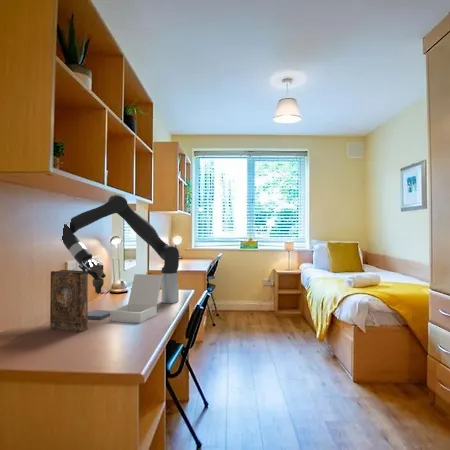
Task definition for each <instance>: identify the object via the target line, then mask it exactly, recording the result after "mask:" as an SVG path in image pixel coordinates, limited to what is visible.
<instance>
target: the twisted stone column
mask: <svg viewBox="0 0 450 450" xmlns="http://www.w3.org/2000/svg"><path fill="white" fill-rule="evenodd" d="M92 267H93V270H94V272H95V273H96V274H97V275H98V276H99V278H98V279H97V280H95V279H94V278H93V279H92V281H91V282H92V286H93V288H94V290H95V293H96V294H97V295H100V293H102V288H103V286H104V279H105V278H102V276H103V272H104V269H103V268H104V265H103V264H102V263H101V264H96V265H93V266H92Z"/></svg>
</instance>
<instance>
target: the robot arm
mask: <svg viewBox="0 0 450 450" xmlns="http://www.w3.org/2000/svg"><path fill="white" fill-rule="evenodd" d="M113 195H114V196H113ZM113 195H111V196H110V197H109V198H108V200H107V202H105V203H104V204H101V205H100V206H98V207H95V208H92V209H89V210H86V211H83V212H82V213H79V214H77V215H75V216H73V217H72V218H71V219H70V221H71V222H70V228H69V227H68V226H67V224H68V223H66V224H64V228H63V236H62V240H63V242H62V244H63V245H64V247H65V249H67V250H68V252H70V255H71V256H72V257H73V258H74V259H75V261H76V262H77V263H78V268H79V269H80V270H81V271H88V275H89V276H91V277H92V278H93V279H95V280H97V279H98V278H99V276H98V275H97V274H96V273H95V272H94V270H93V267H92V266H93V265H96V264H101V265H102V263H101V262H100V260H96V261H95V259H93V254H92V253H91V252H90V250H89V249H88V248H87V247H86V245H84V243H82V242H81V241H80V239H79V238H78V237H77V236H76V235H75V233H77V232H78V231H79V230H80V229H82V228H85V227H87V226H90V225H92V224H93V223H95V222H97V221H98V220H101V219H103V218H106V217H108V216H111V215H114V214H117V215H119V216H120V217H121V218H122V219H123V220H124V221H125V223H126V224H127V225H128V226H129V227H130V228H131V229H132V231H133V232H134V233H135V234H137V235H138V236H139V238H141V239H142V240H143V241H144V242H145V243H146V244H147V245H149V247H150V248H152V249H153V250H154V252H156V254H157V255H158V256H159V257H160V259H162V260H163V261H164V265H163V267H162V268H161V275H163V276H162V281H161V303H163V304H174V303H177V302H179V300H180V299H179V298H180V297H179V296H180V295H179V293H180V292H179V290H180V288H179V284H178V270H179V267H180V266H179V265H180V263H179V262H180V252H179V249H178V248H177V247H176V246H175V245H169V244H167V243H166V242H165V241H163V240H162V239H161V237H160V236H159V234H158V232H157V230H156V229H155V227H154V226H153V225H152V224H151V223H150V222H149V221H148V220H146V218H145V217H143V216H142V215H141V214H139V213H138V212H136V211H135V210H134V209H133V208H132V207H131V206H130V205H129V203H128V200H127V199H126V197H124V196H122V195H120V194H113ZM62 240H61V241H62ZM103 270H104V267H103ZM105 278H106V274H105V272H104V271H103V276H102V279H105Z"/></svg>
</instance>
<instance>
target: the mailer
mask: <svg viewBox="0 0 450 450" xmlns="http://www.w3.org/2000/svg"><path fill="white" fill-rule="evenodd" d="M162 276H163V275H162V274H142V273H134V276H133V280H132V285H131V290H130V294H129V297H128V302H127V304H124V305H122V306H120V307H117V308H114V309H112V310H109V311H110V316H109V321H114V322H126V323H127V322H128V323H138V324H139V323H140V324H141V323H144V321H146V320H149V319H152V318H153V317H155V316H157V306H158V302H159V296H160V293H161V292H160V291H161V288H162Z"/></svg>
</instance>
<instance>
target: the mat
mask: <svg viewBox="0 0 450 450" xmlns="http://www.w3.org/2000/svg"><path fill="white" fill-rule="evenodd" d="M110 311H111V310H104V309H103V310H102V309H94V310H89V311H88V320H98V321H99V320H104V319H106V318H110Z"/></svg>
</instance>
